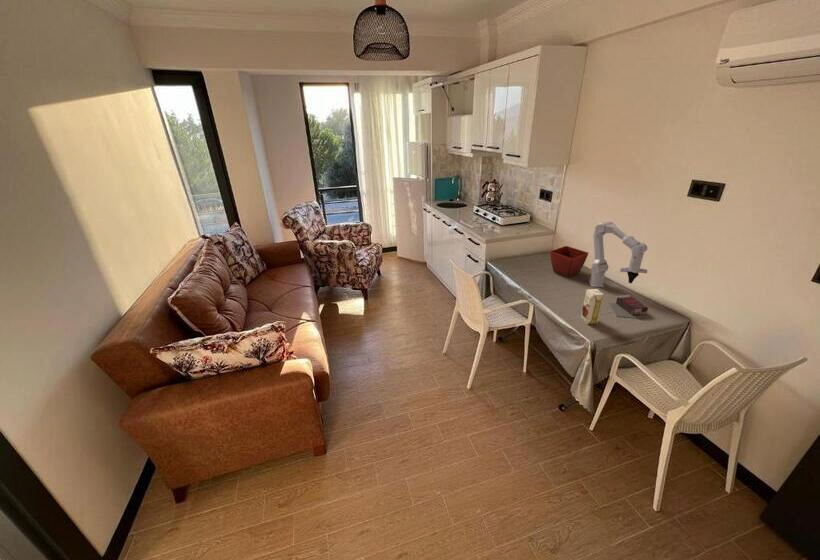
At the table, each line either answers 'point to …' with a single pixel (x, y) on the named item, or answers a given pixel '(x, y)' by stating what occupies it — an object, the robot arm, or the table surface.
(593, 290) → the juice carton
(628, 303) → the supplement box
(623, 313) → the mat
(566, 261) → the plant pot
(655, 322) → the table surface
